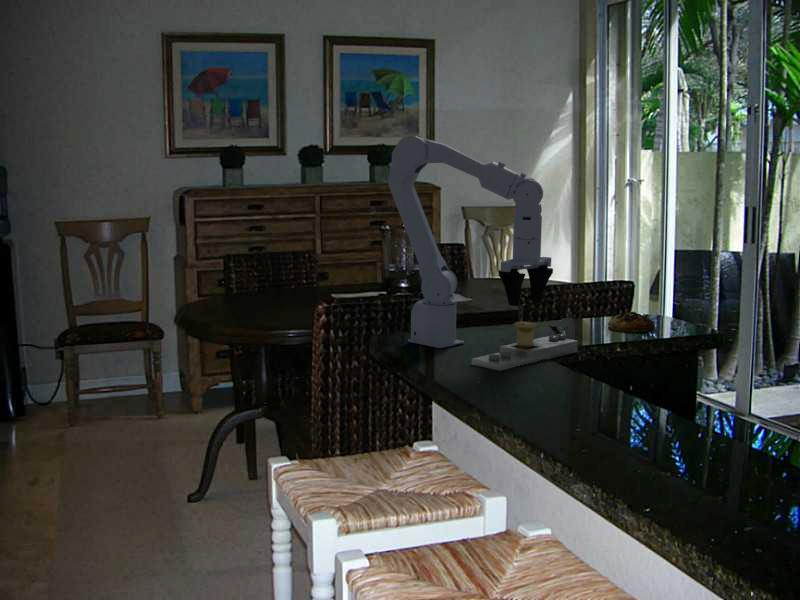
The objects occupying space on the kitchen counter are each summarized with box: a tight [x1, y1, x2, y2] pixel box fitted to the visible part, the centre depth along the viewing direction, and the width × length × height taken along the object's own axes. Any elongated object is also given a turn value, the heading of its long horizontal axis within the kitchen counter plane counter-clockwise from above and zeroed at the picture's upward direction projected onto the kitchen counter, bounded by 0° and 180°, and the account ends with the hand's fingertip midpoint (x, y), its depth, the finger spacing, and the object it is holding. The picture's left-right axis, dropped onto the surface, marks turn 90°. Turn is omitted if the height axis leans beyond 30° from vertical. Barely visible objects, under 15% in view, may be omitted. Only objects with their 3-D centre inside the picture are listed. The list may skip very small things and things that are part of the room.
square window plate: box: [471, 351, 551, 372], centre depth 185 cm, size 7×16×2 cm, turn 135°
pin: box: [514, 321, 538, 350], centre depth 188 cm, size 4×4×7 cm
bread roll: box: [607, 311, 656, 334], centre depth 221 cm, size 11×11×5 cm
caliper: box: [548, 312, 574, 340], centre depth 216 cm, size 20×1×6 cm, turn 3°
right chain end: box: [499, 333, 579, 360], centre depth 191 cm, size 7×17×3 cm, turn 135°
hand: (525, 303), depth 197 cm, fingers open, 7 cm apart
